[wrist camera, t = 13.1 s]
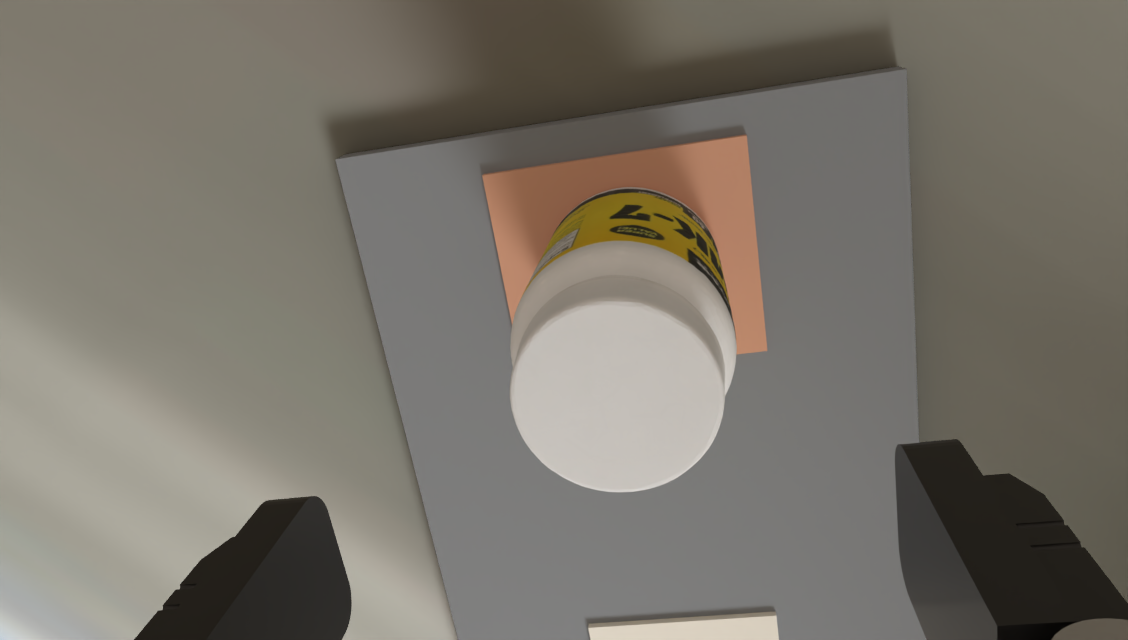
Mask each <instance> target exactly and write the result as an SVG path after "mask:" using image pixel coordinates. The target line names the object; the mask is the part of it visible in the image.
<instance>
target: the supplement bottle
mask: <svg viewBox="0 0 1128 640" xmlns="http://www.w3.org/2000/svg"><path fill="white" fill-rule="evenodd" d="M510 350H511V359H512V365H513V370H512V374H511V381H510V402H511V409H512V413H513V416H514V420H515V423H516V426H517V428H518V430H519V432H520V434H521V436H522V438H523V440H524V441H525V443H526V444H527V446H528V447H529V448H530V450H531V451H532V452H533V453H534V454H535V456H536V457H537V458H538V459H539V460H540V461H541V462H542V463H543V464H544V465H545V466H547V467H548V468H549V469H550V470H552V471H554V472H555V473H557V474H558V475H560V476H561V477H563V478H565V479H567V480H569V481H571V482H573V483H575V484H578V485H580V486H583V487H586V488H590V489H594V490H599V491H606V492H635V491H641V490H646V489H651V488H654V487H657V486H660V485H663V484H665V483H668V482H670V481H672V480H674V479H675V478H677V477H679V476H680V475H682V474H683V473H685V472H686V471H687V470H689V469H690V468H691V467H692V466H693V465H694V464H695V463H697V462H698V461H699V460H700V459H701V457H702V456H703V455H704V454H705V453H706V451H707V450H708V449H709V447H710V446H711V444H712V442H713V440H714V439H715V437H716V434H717V432H718V429H719V427H720V424H721V420H722V417H723V411H724V403H725V395H726V394H727V391H728V389H729V387H730V384H731V381H732V377H733V374H734V369H735V364H736V353H737V344H736V333H735V326H734V321H733V318H732V311H731V307H730V303H729V298H728V293H727V288H726V283H725V280H724V275H723V271H722V266H721V261H720V257H719V253H718V250H717V247H716V244H715V241H714V239H713V237H712V235H711V233H710V231H709V229H708V228H707V226H706V225H705V223H704V222H703V221H702V220H701V218H700V217H699V216H698V215H697V214H696V213H695V212H694V211H693V210H692V209H690V208H689V207H688V206H687V205H685V204H684V203H682V202H681V201H679V200H677V199H675V198H673V197H671V196H669V195H667V194H665V193H662V192H659V191H655V190H651V189H646V188H639V187H622V188H616V189H611V190H607V191H604V192H601V193H598V194H596V195H594V196H592V197H590V198H588V199H586V200H584V201H583V202H581V203H580V204H579V205H577V206H576V207H575V208H574V209H572V210H571V211H570V212H569V213H568V214H567V215H566V217H565V218H564V219H563V220H562V221H561V223H560V224H559V225H558V227H557V229H556V230H555V232H554V234H553V236H552V238H551V240H550V242H549V244H548V246H547V248H546V250H545V252H544V254H543V256H542V257H541V259H540V261H539V263H538V265H537V267H536V269H535V271H534V273H533V275H532V277H531V279H530V281H529V283H528V285H527V287H526V289H525V291H524V293H523V295H522V297H521V299H520V302H519V304H518V306H517V309H516V312H515V315H514V319H513V324H512V330H511V344H510Z"/></svg>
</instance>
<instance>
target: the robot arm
mask: <svg viewBox="0 0 1128 640" xmlns="http://www.w3.org/2000/svg"><path fill="white" fill-rule="evenodd" d="M895 478H896V500H897V522H898V543H899V555H900V562H901V568H902V573H903V578H904V582H905V586H906V589H907V592H908V595H909V598H910V600H911V603H912V605H913V608H914V610H915V613H916V615H917V618H918V620H919V622H920V625H921V627H922V630H923V632H924V635H925V637H926V640H1128V603H1127V602H1126V601H1125V599H1124V598H1123V597H1122V596H1121V594H1120V593H1119V592H1118V590H1117V589H1116V588H1115V586H1114V585H1113V584H1112V583H1111V581H1110V580H1109V579H1108V577H1107V576H1106V575H1105V573H1104V572H1103V571H1102V570H1101V568H1100V567H1099V566H1098V564H1097V563H1096V562H1095V560H1094V559H1093V558H1092V557H1091V555H1090V554H1089V553H1088V551H1087V550H1086V549H1085V548H1082V547H1081V544H1080V541H1079V540H1078V538H1077V537H1076V536H1075V534H1074V533H1073V532H1072V531H1071V529H1070V528H1069V527H1068V525H1064V520H1063V519H1062V517H1061V516H1060V515H1059V514H1058V512H1057V511H1056V510H1055V508H1054V507H1053V506H1052V504H1051V503H1050V502H1049V501H1048V499H1047V498H1046V497H1045V495H1044V494H1042V493H1041V492H1039V491H1037V490H1036V489H1034V488H1032V487H1031V486H1029V485H1027V484H1026V483H1024V482H1022V481H1021V480H1019V479H1017V478H1016V477H1014V476H1012V475H1011V474H997V475H985V476H983V475H982V473H981V472H980V470H979V469H978V467H977V466H976V464H975V463H974V461H973V460H972V458H971V457H970V455H969V454H968V452H967V451H966V449H965V448H964V446H963V445H962V443H961V442H960V441H959V440H957V439H953V440H942V441H931V442H920V443H909V444H898V445H897V447H896V450H895ZM350 615H351V590H350V585H349V581H348V578H347V574H346V571H345V567H344V564H343V561H342V557H341V554H340V550H339V547H338V544H337V540H336V537H335V533H334V530H333V527H332V523H331V520H330V517H329V513H328V510H327V508H326V506H325V504H324V502H323V501H322V500H321V499H320V498H319V497H317V496H311V497H300V498H289V499H278V500H268V501H265V502H264V503H262V504H261V505H260V507H259V508H258V509H257V510H256V511H255V513H254V514H253V515H252V516H251V518H250V519H249V520H248V521H247V523H246V524H245V525H244V526H243V528H242V529H241V530H240V531H239V533H238V534H237V535H236V536H235V537H232V538H230V539H229V540H228V541H226V542H225V543H223V544H222V545H221V546H219V547H218V548H217V549H215V550H214V551H212V552H211V553H210V554H208V555H207V556H206V557H204V558H203V559H201V560H200V561H199V563H198V564H197V565H196V566H195V567H194V569H193V570H192V571H191V572H190V573H189V575H188V576H187V577H186V578H185V579H184V581H183V582H182V583H181V584H180V589H179V590H175V591H174V593H173V594H172V595H171V596H170V597H169V599H168V600H167V601H166V602H165V603H164V605H163V610H161V611H158V612H157V613H156V614H155V615H154V617H153V618H152V619H151V620H150V621H149V622H148V624H147V625H146V626H145V627H144V628H143V630H142V631H141V632H140V633H139V634H138V636H137V637H136V638H135V639H134V640H342V638H343V636H344V634H345V632H346V630H347V627H348V624H349V620H350Z"/></svg>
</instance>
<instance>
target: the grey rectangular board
mask: <svg viewBox="0 0 1128 640" xmlns="http://www.w3.org/2000/svg"><path fill="white" fill-rule="evenodd" d="M335 160H336V164H337V168H338V172H339V176H340V180H341V184H342V188H343V192H344V195H345V199H346V203H347V207H348V211H349V215H350V219H351V223H352V227H353V231H354V235H355V238H356V242H357V246H358V250H359V254H360V258H361V262H362V266H363V270H364V274H365V277H366V281H367V285H368V289H369V293H370V297H371V301H372V305H373V309H374V313H375V317H376V320H377V324H378V328H379V332H380V336H381V340H382V344H383V348H384V352H385V356H386V360H387V363H388V367H389V371H390V375H391V379H392V383H393V387H394V391H395V395H396V399H397V402H398V406H399V410H400V414H401V418H402V422H403V426H404V430H405V434H406V438H407V442H408V445H409V449H410V453H411V457H412V461H413V465H414V469H415V473H416V477H417V481H418V484H419V488H420V492H421V496H422V500H423V504H424V508H425V512H426V516H427V520H428V524H429V527H430V531H431V535H432V539H433V543H434V547H435V551H436V555H437V559H438V563H439V566H440V570H441V574H442V578H443V582H444V586H445V590H446V594H447V598H448V602H449V606H450V609H451V613H452V617H453V621H454V625H455V629H456V633H457V637H458V640H926V637H925V635H924V632H923V630H922V627H921V625H920V622H919V620H918V618H917V615H916V613H915V610H914V608H913V605H912V603H911V600H910V598H909V595H908V592H907V589H906V586H905V582H904V578H903V573H902V568H901V562H900V555H899V543H898V522H897V500H896V478H895V450H896V447H897V445H898V444H909V443H919V424H918V394H917V365H916V335H915V305H914V276H913V246H912V216H911V186H910V157H909V127H908V97H907V69H905V68H902V67H892V68H886V69H879V70H873V71H867V72H861V73H854V74H848V75H842V76H835V77H829V78H823V79H817V80H810V81H804V82H798V83H791V84H785V85H779V86H773V87H766V88H760V89H754V90H747V91H741V92H735V93H729V94H722V95H716V96H710V97H703V98H697V99H691V100H685V101H678V102H672V103H666V104H659V105H653V106H647V107H640V108H634V109H628V110H622V111H615V112H609V113H603V114H596V115H590V116H584V117H578V118H571V119H565V120H559V121H552V122H546V123H540V124H534V125H527V126H521V127H515V128H508V129H502V130H496V131H490V132H483V133H477V134H471V135H464V136H458V137H452V138H446V139H439V140H433V141H427V142H420V143H414V144H408V145H402V146H395V147H389V148H383V149H376V150H370V151H364V152H358V153H351V154H345V155H343V156H341V157H339V158H337V159H335ZM622 187H639V188H646V189H651V190H655V191H659V192H662V193H665V194H667V195H669V196H671V197H673V198H675V199H677V200H679V201H681V202H682V203H684V204H685V205H687V206H688V207H689V208H690V209H692V210H693V211H694V212H695V213H696V214H697V215H698V216H699V217H700V218H701V220H702V221H703V222H704V223H705V225H706V226H707V228H708V229H709V231H710V233H711V235H712V237H713V239H714V241H715V244H716V247H717V250H718V253H719V257H720V261H721V266H722V271H723V275H724V280H725V283H726V288H727V293H728V298H729V303H730V307H731V311H732V318H733V321H734V326H735V333H736V344H737V353H736V364H735V369H734V374H733V377H732V381H731V384H730V387H729V389H728V391H727V394H726V395H725V403H724V411H723V417H722V420H721V424H720V427H719V429H718V432H717V434H716V437H715V439H714V440H713V442H712V444H711V446H710V447H709V449H708V450H707V451H706V453H705V454H704V455H703V456H702V457H701V459H700V460H699V461H698V462H697V463H695V464H694V465H693V466H692V467H691V468H690V469H689V470H687V471H686V472H685V473H683V474H682V475H680V476H679V477H677V478H675V479H674V480H672V481H670V482H668V483H665V484H663V485H660V486H657V487H654V488H651V489H646V490H641V491H635V492H606V491H599V490H594V489H590V488H586V487H583V486H580V485H578V484H575V483H573V482H571V481H569V480H567V479H565V478H563V477H561V476H560V475H558V474H557V473H555V472H554V471H552V470H550V469H549V468H548V467H547V466H545V465H544V464H543V463H542V462H541V461H540V460H539V459H538V458H537V457H536V456H535V454H534V453H533V452H532V451H531V450H530V448H529V447H528V446H527V444H526V443H525V441H524V440H523V438H522V436H521V434H520V432H519V430H518V428H517V426H516V423H515V420H514V416H513V413H512V409H511V402H510V381H511V374H512V370H513V365H512V359H511V350H510V344H511V330H512V324H513V319H514V315H515V312H516V309H517V306H518V304H519V302H520V299H521V297H522V295H523V293H524V291H525V289H526V287H527V285H528V283H529V281H530V279H531V277H532V275H533V273H534V271H535V269H536V267H537V265H538V263H539V261H540V259H541V257H542V256H543V254H544V252H545V250H546V248H547V246H548V244H549V242H550V240H551V238H552V236H553V234H554V232H555V230H556V229H557V227H558V225H559V224H560V223H561V221H562V220H563V219H564V218H565V217H566V215H567V214H568V213H569V212H570V211H571V210H572V209H574V208H575V207H576V206H577V205H579V204H580V203H581V202H583V201H584V200H586V199H588V198H590V197H592V196H594V195H596V194H598V193H601V192H604V191H607V190H611V189H616V188H622Z"/></svg>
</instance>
